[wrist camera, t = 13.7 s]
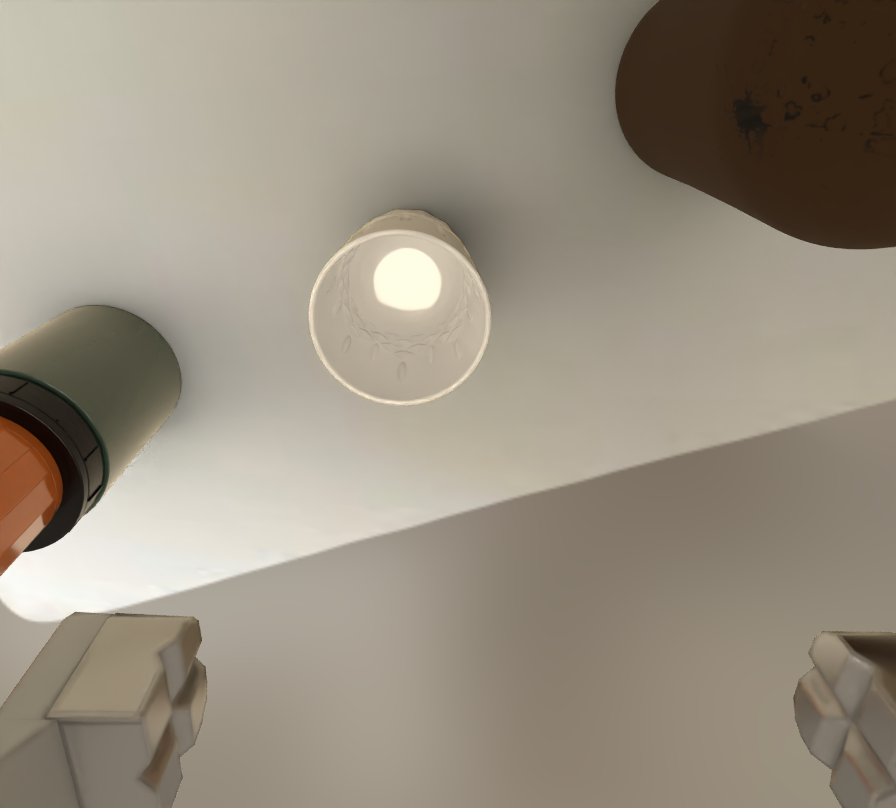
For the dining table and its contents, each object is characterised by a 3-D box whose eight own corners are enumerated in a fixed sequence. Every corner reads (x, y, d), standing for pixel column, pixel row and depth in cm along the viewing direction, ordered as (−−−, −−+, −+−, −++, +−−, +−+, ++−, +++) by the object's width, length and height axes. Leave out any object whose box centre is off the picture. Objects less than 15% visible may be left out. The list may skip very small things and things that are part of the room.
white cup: (339, 333, 39) (312, 403, 30) (336, 194, 36) (304, 225, 27) (473, 337, 40) (485, 408, 31) (481, 200, 36) (498, 233, 27)
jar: (6, 336, 39) (-150, 424, 29) (131, 283, 38) (15, 354, 27) (90, 453, 42) (-22, 571, 32) (207, 407, 41) (130, 513, 31)
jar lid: (-120, 411, 30) (-155, 431, 28) (34, 347, 29) (7, 364, 27) (-5, 549, 33) (-31, 575, 31) (137, 496, 32) (119, 520, 30)
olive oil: (683, 232, 37) (1074, 437, 15) (559, 83, 34) (813, 52, 11) (849, 83, 35) (1658, 52, 12) (731, -95, 31) (1532, -615, 8)
